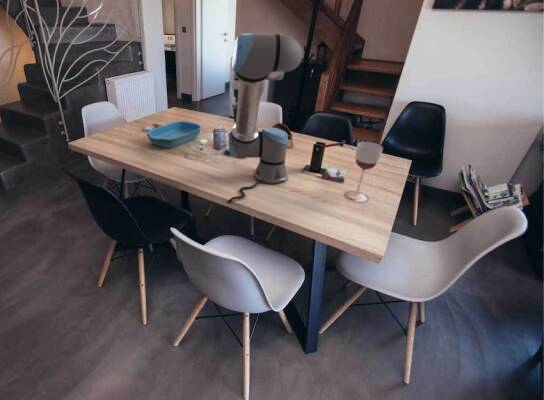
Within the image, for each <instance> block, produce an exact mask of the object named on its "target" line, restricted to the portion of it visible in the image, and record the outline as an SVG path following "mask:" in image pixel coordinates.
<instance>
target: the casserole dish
mask: <svg viewBox="0 0 544 400" xmlns="http://www.w3.org/2000/svg"><path fill="white" fill-rule="evenodd" d="M201 129H202V125H200V124H198V123H197V122H193V121H185V120H182V121H181V120H178V121H173V122H170V123H167V124H164V125H161V126H158V127H155V128H152V129H149V130H147V131H146V136H147V138H148V140H149V142H150V143H151V144H153V145H154V146H157V147H161V148H164V149H173V148H176V147H179V146H181V145H184V144H185V143H188V142H191V141H193V140H194V139H196V138H198V137H199V135H200V134H201Z"/></svg>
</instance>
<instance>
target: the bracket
mask: <svg viewBox="0 0 544 400" xmlns="http://www.w3.org/2000/svg"><path fill="white" fill-rule="evenodd" d="M318 144H322V145H318ZM323 145H327V143H326V142H323V141H315V143H313V146H312V150H311V151H312V152H311V157H310V164H305V166H304V167H303V168H302V169H301V171H305V172H308V173H312V174H316V175H320V176H325V174H326V173H327V172H326V170H327V168H324V167H322V165H323V160H324V155H325V149H326V147H325V148H323ZM327 171H328V170H327Z"/></svg>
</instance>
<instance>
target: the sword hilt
mask: <svg viewBox="0 0 544 400" xmlns="http://www.w3.org/2000/svg"><path fill="white" fill-rule="evenodd" d="M271 127H273V128H278V129H281V130H283V131H285V132H286V133H287V135H288V141H290V143H291V145H290V146H289V145H287V149H291V148H293V147H294V141H293V134H292V132H291V130H290V129H289V127H288V126H287V125H286V124H284V123H283V122H277V123H275V124H274V125H272V126H271Z"/></svg>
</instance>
